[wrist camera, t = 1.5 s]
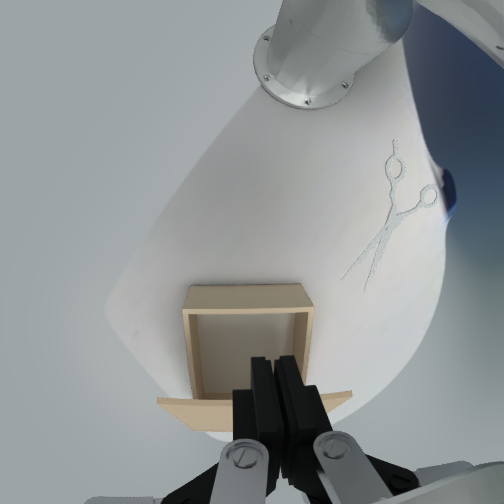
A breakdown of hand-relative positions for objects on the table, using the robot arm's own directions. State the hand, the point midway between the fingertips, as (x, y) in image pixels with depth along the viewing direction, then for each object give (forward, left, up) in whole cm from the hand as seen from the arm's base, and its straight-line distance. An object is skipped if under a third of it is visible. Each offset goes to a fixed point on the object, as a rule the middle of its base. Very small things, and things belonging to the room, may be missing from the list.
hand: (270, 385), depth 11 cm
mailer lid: (+16, 0, -13) cm, 21 cm away
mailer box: (+15, 0, -26) cm, 30 cm away
